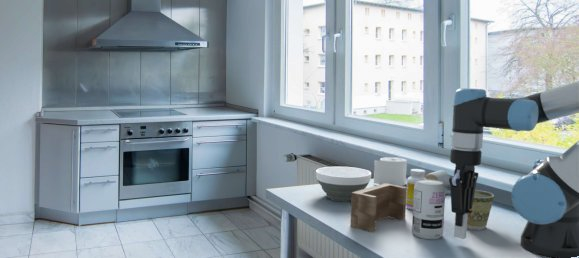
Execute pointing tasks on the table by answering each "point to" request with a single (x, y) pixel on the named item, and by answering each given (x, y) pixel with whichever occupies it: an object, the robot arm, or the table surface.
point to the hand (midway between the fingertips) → (460, 237)
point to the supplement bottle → (411, 181)
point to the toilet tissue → (390, 171)
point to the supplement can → (428, 209)
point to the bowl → (342, 181)
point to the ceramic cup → (480, 210)
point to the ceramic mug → (440, 178)
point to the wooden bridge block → (377, 205)
